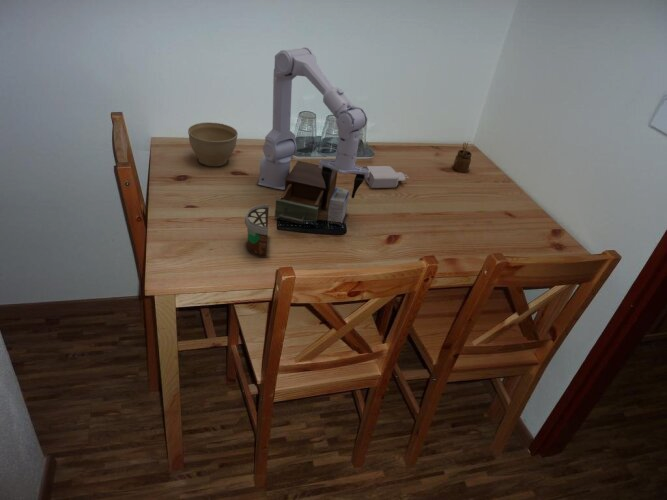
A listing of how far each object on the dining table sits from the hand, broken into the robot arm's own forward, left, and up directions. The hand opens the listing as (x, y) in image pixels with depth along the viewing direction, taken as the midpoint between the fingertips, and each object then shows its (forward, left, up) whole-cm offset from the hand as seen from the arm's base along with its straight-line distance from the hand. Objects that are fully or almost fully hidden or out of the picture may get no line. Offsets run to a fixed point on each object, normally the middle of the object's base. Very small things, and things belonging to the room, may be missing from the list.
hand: (340, 194), depth 150 cm
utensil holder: (+38, +56, -9) cm, 68 cm away
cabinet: (-11, +11, -9) cm, 18 cm away
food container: (-18, -23, -9) cm, 31 cm away
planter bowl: (-48, +20, -9) cm, 53 cm away
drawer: (-11, -4, -8) cm, 14 cm away
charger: (+12, +32, -9) cm, 35 cm away
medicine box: (0, 0, -9) cm, 9 cm away
